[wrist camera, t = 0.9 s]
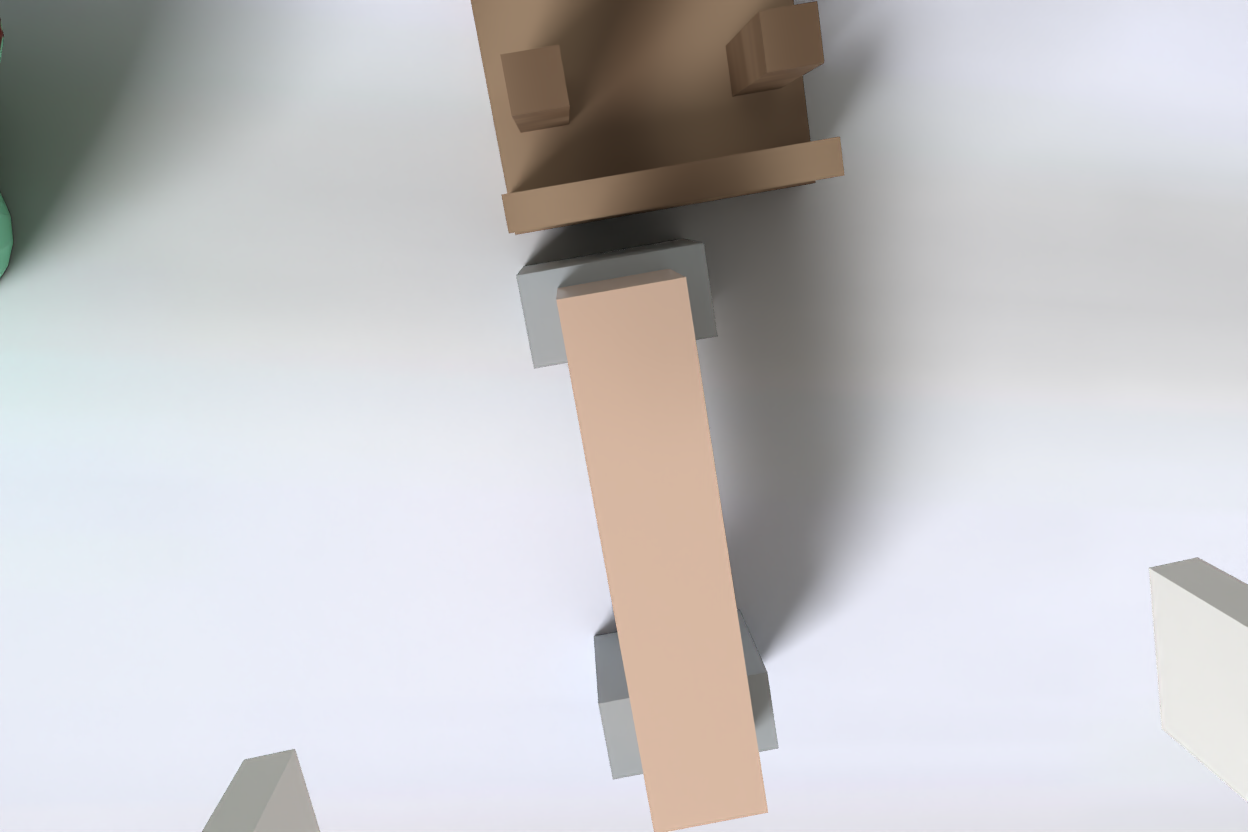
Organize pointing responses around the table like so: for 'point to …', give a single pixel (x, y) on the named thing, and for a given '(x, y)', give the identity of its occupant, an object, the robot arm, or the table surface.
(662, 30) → the rack
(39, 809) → the table surface
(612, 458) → the clay strip
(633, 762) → the grey blocks
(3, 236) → the mug
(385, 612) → the table surface
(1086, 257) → the table surface
